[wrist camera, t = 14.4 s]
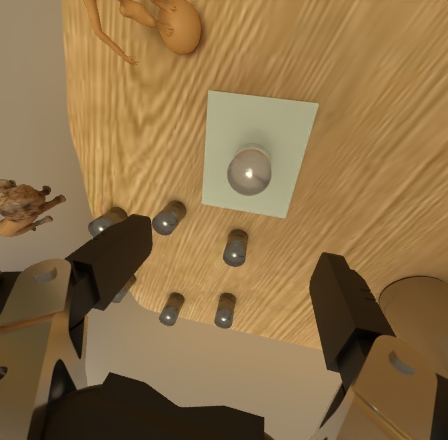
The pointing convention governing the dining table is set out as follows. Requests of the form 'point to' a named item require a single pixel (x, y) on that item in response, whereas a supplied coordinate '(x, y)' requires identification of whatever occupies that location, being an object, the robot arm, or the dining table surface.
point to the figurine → (156, 24)
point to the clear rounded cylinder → (250, 170)
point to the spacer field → (165, 226)
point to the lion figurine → (23, 207)
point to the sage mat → (261, 134)
